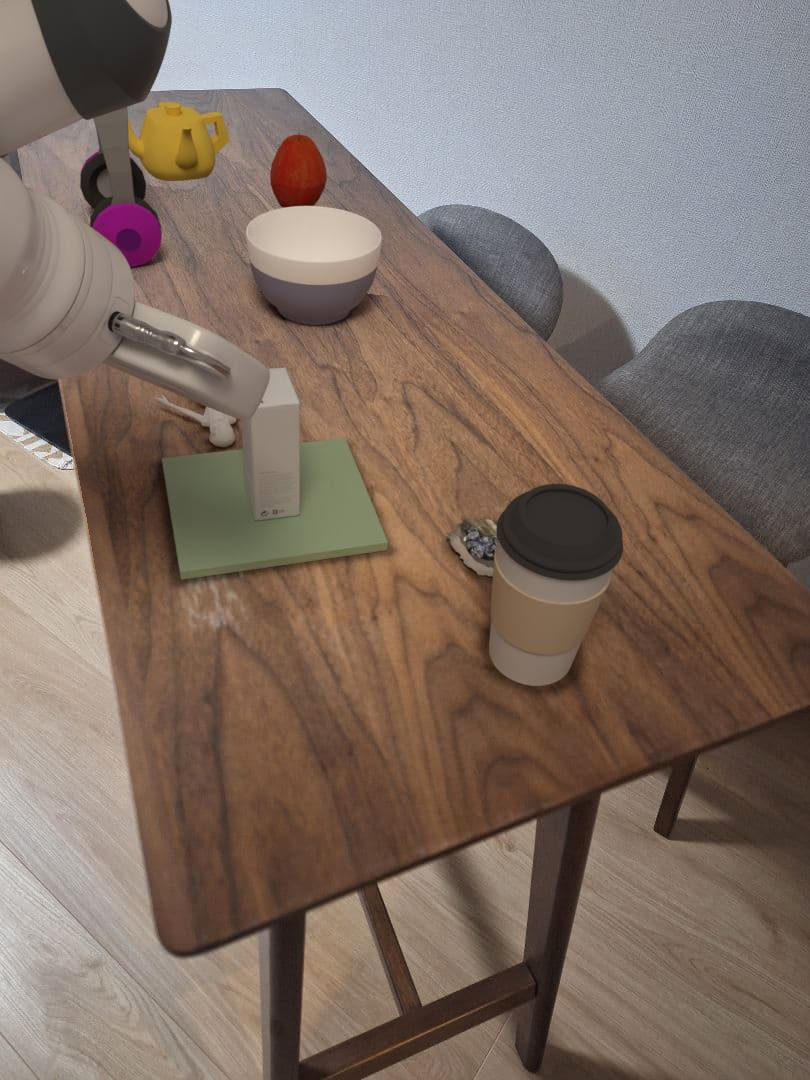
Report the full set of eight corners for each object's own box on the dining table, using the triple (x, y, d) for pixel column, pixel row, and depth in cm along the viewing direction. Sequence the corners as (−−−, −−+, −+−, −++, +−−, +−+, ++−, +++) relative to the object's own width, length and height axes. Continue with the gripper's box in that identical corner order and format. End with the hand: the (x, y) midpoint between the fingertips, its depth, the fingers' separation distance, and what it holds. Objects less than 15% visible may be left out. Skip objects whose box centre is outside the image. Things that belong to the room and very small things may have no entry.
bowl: (360, 349, 107) (364, 272, 100) (230, 326, 108) (225, 249, 102) (389, 289, 118) (394, 217, 112) (271, 269, 120) (270, 197, 114)
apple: (323, 220, 133) (324, 145, 126) (267, 216, 133) (265, 139, 126) (328, 199, 139) (329, 125, 132) (274, 194, 139) (272, 120, 132)
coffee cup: (458, 672, 71) (483, 527, 61) (495, 598, 77) (523, 455, 67) (570, 713, 69) (615, 569, 59) (598, 633, 75) (643, 492, 65)
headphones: (167, 269, 118) (151, 105, 105) (97, 274, 115) (70, 107, 102) (146, 206, 132) (129, 54, 119) (83, 209, 130) (58, 55, 116)
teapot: (116, 176, 140) (106, 107, 133) (164, 149, 149) (158, 84, 143) (194, 194, 137) (188, 125, 130) (239, 166, 146) (235, 101, 140)
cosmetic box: (301, 516, 82) (301, 404, 74) (254, 522, 81) (248, 409, 73) (288, 475, 86) (286, 365, 78) (243, 481, 85) (236, 369, 77)
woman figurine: (250, 318, 101) (283, 418, 89) (251, 352, 104) (283, 453, 92) (142, 326, 98) (161, 431, 86) (146, 361, 101) (165, 467, 89)
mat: (180, 580, 76) (179, 571, 76) (162, 466, 88) (161, 457, 87) (387, 550, 81) (388, 542, 80) (345, 445, 92) (345, 437, 92)
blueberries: (476, 513, 86) (478, 498, 84) (547, 554, 82) (551, 538, 81) (432, 548, 82) (434, 532, 80) (505, 592, 78) (508, 576, 77)
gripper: (223, 298, 48) (321, 379, 61) (-56, 196, 54) (87, 290, 67) (174, 408, 48) (283, 465, 61) (-99, 293, 54) (52, 368, 67)
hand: (178, 372), depth 64 cm, fingers open, 8 cm apart
